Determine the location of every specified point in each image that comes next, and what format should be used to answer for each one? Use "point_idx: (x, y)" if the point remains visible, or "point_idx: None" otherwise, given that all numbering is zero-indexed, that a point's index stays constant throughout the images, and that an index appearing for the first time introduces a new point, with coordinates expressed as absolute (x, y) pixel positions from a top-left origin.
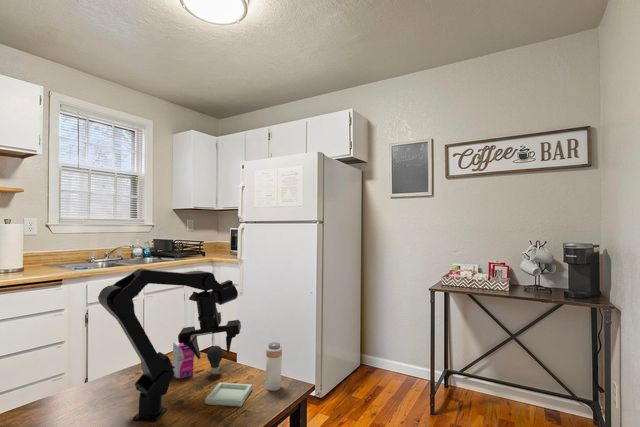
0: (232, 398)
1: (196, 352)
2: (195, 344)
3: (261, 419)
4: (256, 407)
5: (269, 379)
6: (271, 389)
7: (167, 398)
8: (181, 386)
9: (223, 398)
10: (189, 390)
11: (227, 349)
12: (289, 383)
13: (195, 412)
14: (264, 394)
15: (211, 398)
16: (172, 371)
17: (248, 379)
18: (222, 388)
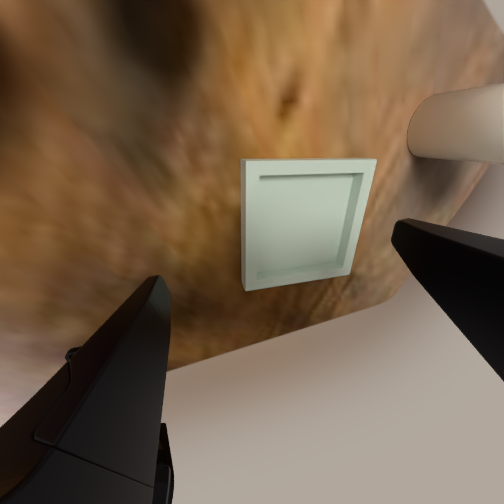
0: (314, 241)
1: (160, 386)
2: (123, 493)
3: (383, 297)
4: (374, 259)
5: (453, 159)
6: (424, 157)
7: (82, 284)
8: (46, 176)
9: (299, 275)
10: (123, 208)
11: (435, 294)
12: (486, 83)
13: (234, 319)
14: (398, 187)
15: (264, 284)
16: (166, 502)
17: (346, 47)
18: (262, 179)
